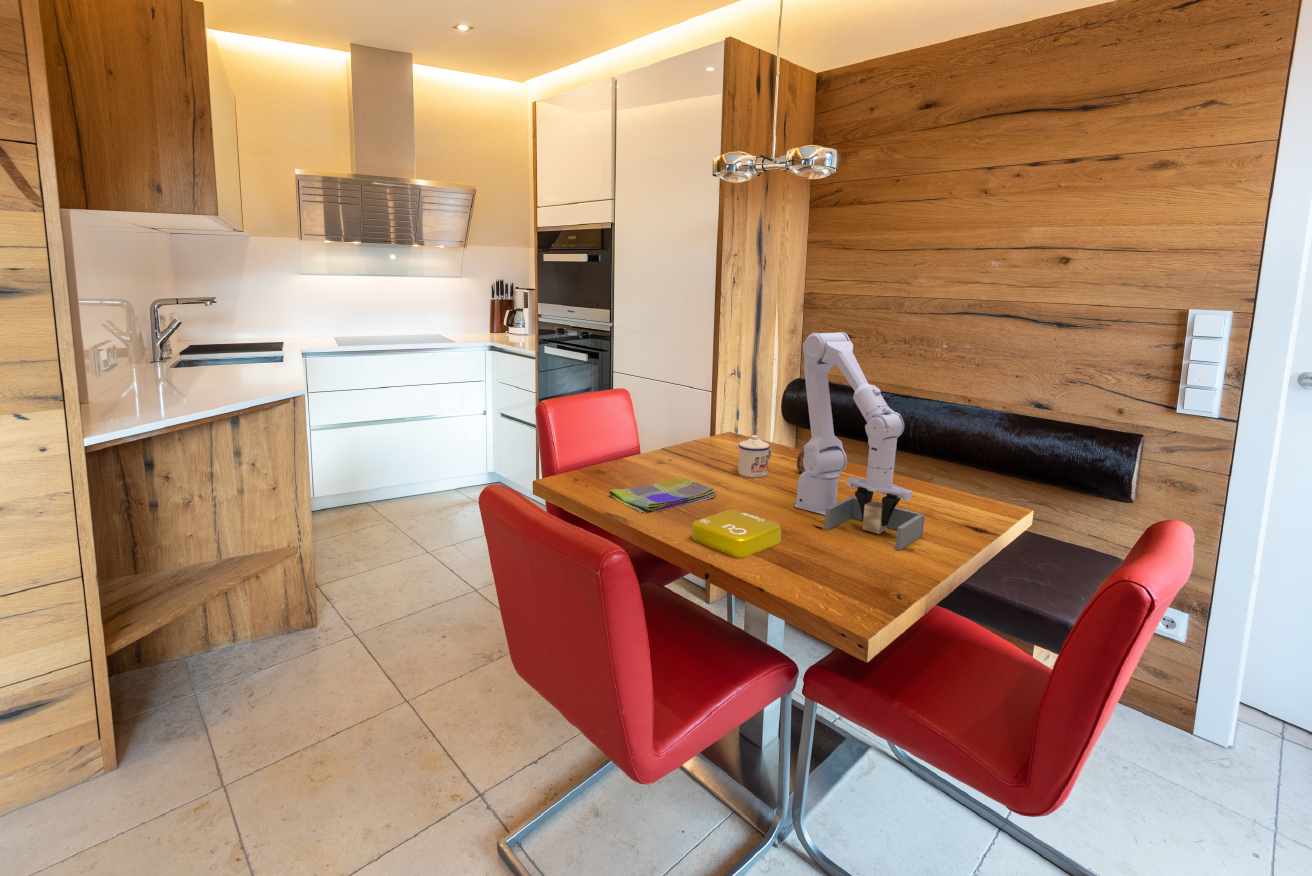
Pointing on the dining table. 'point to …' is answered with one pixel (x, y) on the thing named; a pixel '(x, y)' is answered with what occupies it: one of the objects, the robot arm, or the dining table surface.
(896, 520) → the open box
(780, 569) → the dining table surface
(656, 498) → the dish towel
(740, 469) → the teacup with lid
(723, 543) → the element tile
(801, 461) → the tin
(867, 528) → the birch block
